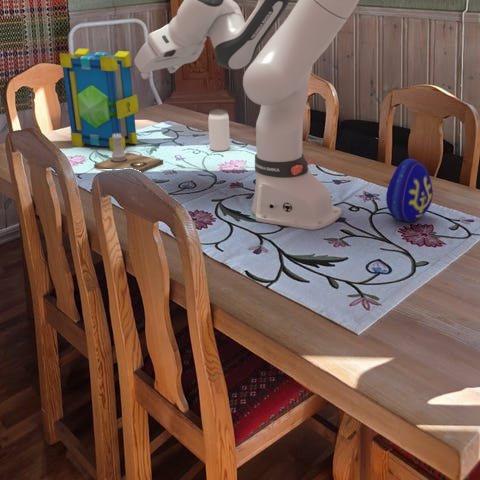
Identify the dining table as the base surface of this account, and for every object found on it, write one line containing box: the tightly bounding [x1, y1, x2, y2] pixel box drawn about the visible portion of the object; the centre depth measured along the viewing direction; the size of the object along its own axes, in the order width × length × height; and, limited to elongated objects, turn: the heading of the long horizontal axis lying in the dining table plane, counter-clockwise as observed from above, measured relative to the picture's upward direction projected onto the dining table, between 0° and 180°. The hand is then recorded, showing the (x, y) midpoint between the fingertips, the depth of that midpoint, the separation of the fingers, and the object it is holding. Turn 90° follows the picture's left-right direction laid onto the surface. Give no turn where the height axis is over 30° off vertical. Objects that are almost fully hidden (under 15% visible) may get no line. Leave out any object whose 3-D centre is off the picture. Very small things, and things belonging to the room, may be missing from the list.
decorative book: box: [58, 47, 139, 152], centre depth 221 cm, size 14×23×30 cm, turn 62°
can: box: [207, 109, 231, 153], centre depth 217 cm, size 6×6×12 cm
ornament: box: [385, 158, 434, 223], centre depth 161 cm, size 11×9×15 cm
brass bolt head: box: [133, 162, 143, 166], centre depth 203 cm, size 3×3×1 cm
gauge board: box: [93, 152, 164, 173], centre depth 206 cm, size 15×14×1 cm
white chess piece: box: [111, 133, 126, 162], centre depth 206 cm, size 4×4×8 cm
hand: (157, 73), depth 184 cm, fingers open, 8 cm apart
